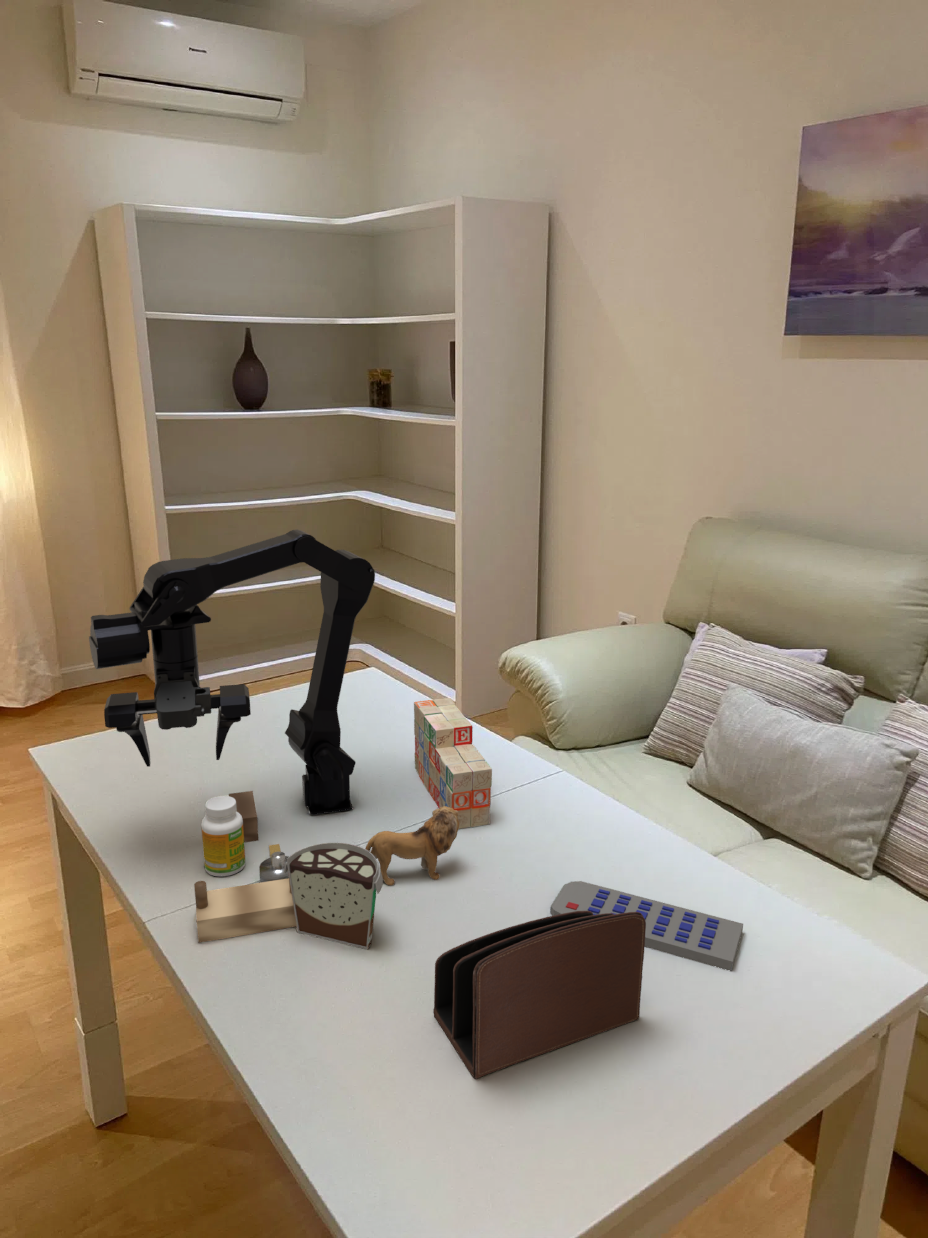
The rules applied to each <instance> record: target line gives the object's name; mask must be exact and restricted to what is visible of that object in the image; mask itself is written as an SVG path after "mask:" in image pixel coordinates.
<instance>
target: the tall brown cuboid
mask: <svg viewBox="0 0 928 1238" xmlns="http://www.w3.org/2000/svg"><path fill="white" fill-rule="evenodd" d="M228 796H230V797H233V798H234V799H235V800H236V808H237V812H238V813H239V814H240V815H241V816H242V819H243V831H244V844H245V843H250V842H259V841H260V839H259V827H258V826H259V823H258V822H259V821H258V814H257V807H256V802H255V796H254V790H248V791H240V792H233V793H228Z"/></svg>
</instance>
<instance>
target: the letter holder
mask: <svg viewBox="0 0 928 1238" xmlns="http://www.w3.org/2000/svg"><path fill="white" fill-rule="evenodd" d="M645 931H646V921H645V918H644V917H643V915H642V914H641V913H640V912H628V913H621V914H615V915H614V914H613V913H605V914H598V915H593V913H592V912H591V911H574V912H569V913H564V914H559V915H554V916H552V915H550V916H547V917H542V918H537V919H534V920H530V921H529V920H528V921H526V922H523V923H519V924H515V925H513V926H509V927H505V928H503V929H499V930H497V931H493V932H490V933H487V934H485V935H482V936H479V937H476V938H474V939H471V940H468V941H466V942H463V943H462V944H460V945H457V946H454V947H453V948H451V949H449V950H447V951H445V952H443V953H442V954H440V956H438V958H437V959H436V960H435V964H434V993H433V996H434V997H433V999H434V1000H433V1005H434V1006H433V1011H432V1012H433V1017H434V1018H435V1019H436V1020H437V1022H438V1023H439V1025H440V1027H441V1029H442V1030H443V1032H444V1033H445V1035H446V1037H447V1038H448V1040H449V1041H450V1043H451V1045H452V1047H453V1048H454V1050H455V1051H456V1052H457V1054H458V1056H459V1057H460V1059H461V1060H462V1062H463V1063H464V1065H465V1067H466V1068H467V1070H468V1071H469V1073H470V1075H472V1077H473V1078H474V1079H475V1080H477V1079H479V1078H481V1077H484V1076H486V1075H489V1074H491V1073H493V1072H497V1071H499V1070H502V1069H505V1068H508V1067H511V1066H513V1065H516V1064H518V1063H519V1064H520V1063H521V1062H524V1061H527V1060H529V1059H533V1058H535V1057H538V1056H541V1055H543V1054H547V1053H549V1052H553V1051H555V1050H557V1049H560V1048H563V1047H566V1046H569V1045H571V1044H575V1043H577V1042H580V1041H582V1040H585V1039H588V1038H591V1037H593V1036H597V1035H598V1034H601V1033H604V1032H607V1031H609V1030H614V1029H617V1028H618V1027H621V1026H624V1025H626V1024H630V1023H631V1022H635V1021H638V1020H639V1019H640V1015H641V1011H640V1009H641V996H642V993H641V992H642V986H643V985H642V984H643V982H642V981H643V969H644V958H645V957H644V956H645V948H646V947H645Z"/></svg>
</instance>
